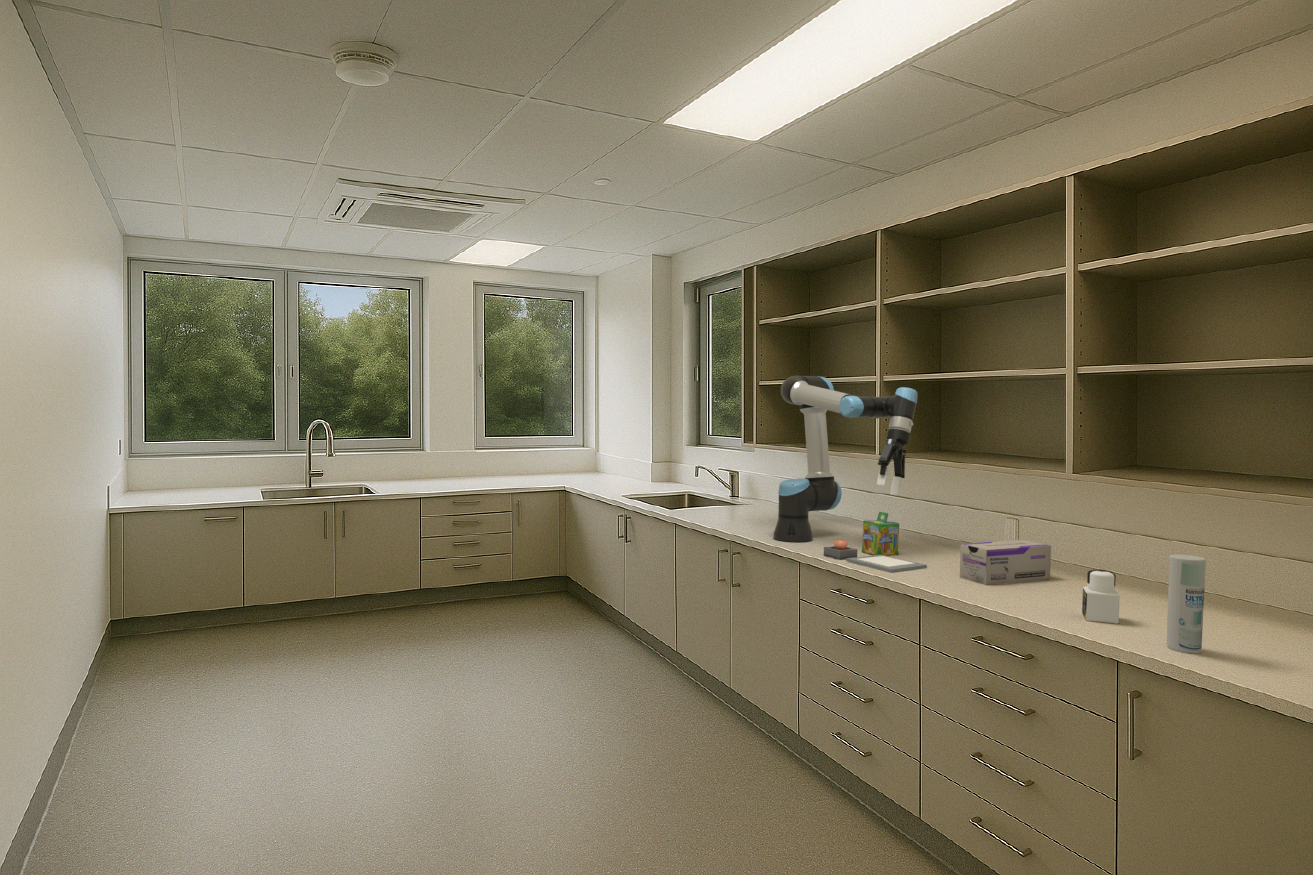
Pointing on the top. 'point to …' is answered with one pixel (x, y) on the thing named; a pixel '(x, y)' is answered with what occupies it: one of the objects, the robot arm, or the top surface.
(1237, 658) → the top surface
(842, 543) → the button
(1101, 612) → the medicine bottle
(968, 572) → the surgical sutures box
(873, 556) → the board
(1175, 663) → the top surface
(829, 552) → the button housing
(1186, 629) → the spray can
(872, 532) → the chalk box
